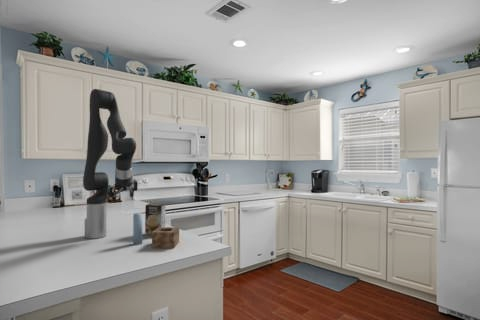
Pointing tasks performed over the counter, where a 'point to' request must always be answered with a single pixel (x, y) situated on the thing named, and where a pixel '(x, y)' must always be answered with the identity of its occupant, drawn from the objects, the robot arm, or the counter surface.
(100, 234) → the robot arm
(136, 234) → the peg
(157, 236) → the socket block
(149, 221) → the coffee box
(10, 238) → the counter surface
